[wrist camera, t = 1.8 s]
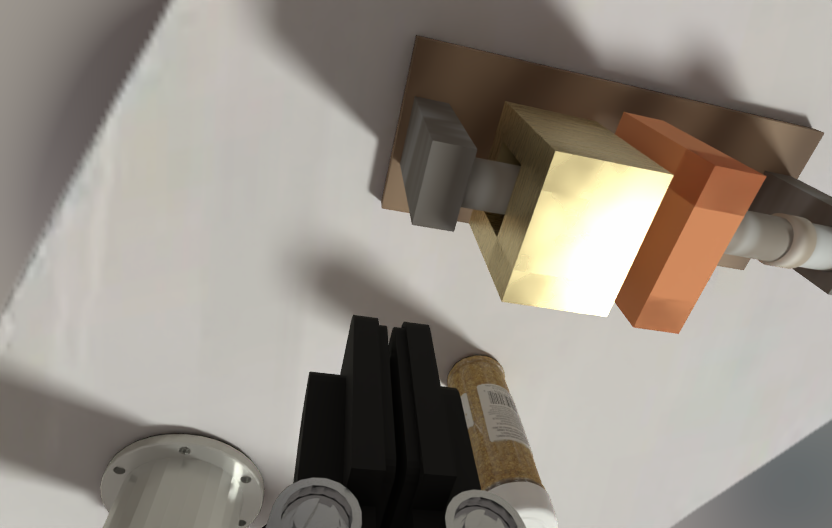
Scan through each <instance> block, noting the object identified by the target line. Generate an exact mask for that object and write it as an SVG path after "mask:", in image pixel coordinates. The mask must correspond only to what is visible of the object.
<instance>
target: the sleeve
mask: <svg viewBox="0 0 832 528" xmlns="http://www.w3.org/2000/svg"><path fill="white" fill-rule="evenodd" d="M488 160H492V161H497V162H502V163H507V164H512V165H517V166H521V167H520V170H519V173H518V176H517V179H516V182H515V185H514V188H513V191H512V194H511V197H510V200H509V203H508V206H507V209H506V212H505V215H503V214H497V213H491V212H486V211H480V210H474V209H473V211H472V214H471V217H470V221H469V224H470V226H471V229H472V231H473V234H474V236H475V238H476V241H477V243H478V246H479V248H480V250H481V253H482V255H483V258H484V260H485V262H486V265H487V267H488V270H489V272H490V274H491V277H492V279H493V282H494V284H495V286H496V289H497V291H498V294H499V296H500V299H501V301H502V302H508V303H515V304H522V305H529V306H536V307H543V308H549V309H556V310H563V311H570V312H577V313H584V314H591V315H598V316H605V317H607V315H608V313H609V311H610V309H611V307H612V305H613V303H614V300H615V298H616V296H617V294H618V292H619V290H620V288H621V286H622V284H623V281H624V279H625V277H626V275H627V273H628V271H629V269H630V267H631V265H632V262H633V260H634V258H635V256H636V254H637V252H638V250H639V248H640V245H641V243H642V241H643V239H644V237H645V235H646V233H647V231H648V229H649V226H650V224H651V222H652V220H653V218H654V216H655V214H656V212H657V210H658V207H659V205H660V203H661V201H662V199H663V197H664V195H665V193H666V191H667V188H668V186H669V184H670V182H671V180H672V178H673V176H674V175H673V174H672V173H670V172H669V171H667V170H666V169H664V168H663V167H661V166H660V165H659V164H657V163H656V162H654V161H653V160H651V159H650V158H649V157H647V156H646V155H644V154H643V153H641V152H640V151H638V150H637V149H636V148H634V147H633V146H631V145H630V144H628V143H627V142H625V141H624V140H623V139H621V138H620V137H618V136H617V135H615V134H614V133H612V132H611V131H610V130H608V129H607V128H605V127H604V126H602V125H601V124H599V123H598V122H597V121H593V120H589V119H584V118H580V117H575V116H571V115H566V114H561V113H557V112H552V111H548V110H543V109H539V108H534V107H529V106H525V105H520V104H516V103H511V102H506V101H505V104H504V107H503V110H502V114H501V117H500V120H499V124H498V127H497V130H496V134H495V137H494V140H493V144H492V147H491V150H490V154H489V157H488Z"/></svg>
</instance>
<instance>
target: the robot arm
mask: <svg viewBox="0 0 832 528" xmlns="http://www.w3.org/2000/svg"><path fill="white" fill-rule="evenodd" d="M100 491H101V498H102V501H103V503H104V506H105V507H106V509H107V510H108V512H109V515H108V517H107V519H106V522H105V524H104V526H103V528H246V527H248V526H249V525H250V524H251V523H252V522H253V521H254V520H255V518H256V517H257V515H258V513H259V512H260V509H261V506H262V502H263V495H264V484H263V479H262V477H261V474H260V472H259V470H258V469H257V467H256V466H255V465H254V464H253V462H252V461H251V460H250V459H249V458H247V457H246V456H245V455H244V454H243V453H241V452H240V451H238V450H236V449H235V448H233V447H231V446H230V445H227V444H225V443H222V442H220V441H217V440H215V439H211V438H207V437H203V436H197V435H188V434H167V435H160V436H153V437H149V438H146V439H143V440H140V441H137V442H135V443H133V444H131V445H129V446H127V447H125V448H124V449H123V450H121V451H120V452H119V453H118V454H116V455H115V457H114V458H113V459H112V460H111V462H110V463H109V465H108V467H107V469H106V471H105V473H104V475H103V477H102V481H101V485H100ZM262 528H526V526H525V524H524V522H523V520H522V519H521V517H520V515H519V514H518V512H517V511H516V510H515V509H514V508H513V507H512V506H511V505H510V504H509V503H508V502H507V501H506V500H504V499H502V498H501V497H499V496H498V495H496V494H493V493H490V492H487V491H484V490H481V486H480V481H479V477H478V472H477V468H476V463H475V459H474V455H473V450H472V446H471V441H470V437H469V432H468V428H467V423H466V419H465V414H464V410H463V406H462V401H461V397H460V393H459V391H458V390H457V388H451V387H442V386H440V380H439V375H438V369H437V364H436V359H435V353H434V348H433V342H432V337H431V331H430V327H429V325H424V324H417V323H409V322H404V323H403V325H402V327H401V328H397V327H394V328H393V330H392V333H391V337H390V341H389V345H388V332H387V326H382V325H379V321H378V318H372V317H364V316H357V315H353V317H352V320H351V325H350V330H349V335H348V340H347V344H346V349H345V354H344V359H343V364H342V369H341V373H340V375H335V374H326V373H318V372H309V377H308V383H307V389H306V395H305V401H304V407H303V413H302V420H301V427H300V434H299V442H298V450H297V458H296V466H295V474H294V482H293V484H292V485H290V486H288V487H287V488H286V489H285V490H284V491H283V492H282V493H281V494H280V495H279V496H278V498H277V500H276V501H275V503H274V505H273V507H272V510H271V513H270V516H269V519H268V522H267V524H266V525H265V526H264V527H262Z"/></svg>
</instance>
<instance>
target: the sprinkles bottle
mask: <svg viewBox="0 0 832 528" xmlns="http://www.w3.org/2000/svg"><path fill="white" fill-rule="evenodd" d="M447 383H448V387H451V388H457V390H458V391H459V393H460V397H461V401H462V406H463V410H464V414H465V419H466V423H467V428H468V432H469V437H470V441H471V446H472V450H473V455H474V459H475V463H476V468H477V472H478V477H479V481H480V486H481V490H484V491H487V492H490V493H493V494H496V495H498V496H499V497H501V498H502V499H504V500H506V501H507V502H508V503H509V504H510V505H511V506H512V507H513V508H514V509H515V510H516V511H517V512H518V514H519V515H520V517H521V519H522V520H523V522H524V524H525V526H526V528H558V521H557V517H556V514H555V511H554V508H553V505H552V502H551V499H550V497H549V494H548V493H547V491H546V490H545V488H544V486H543V485H542V483H541V480H540V477H539V474H538V472H537V469H536V466H535V462H534V459H533V454H532V451H531V448H530V445H529V442H528V440H527V437H526V434H525V431H524V428H523V426H522V423H521V420H520V417H519V415H518V412H517V409H516V406H515V403H514V401H513V398H512V396H511V394H510V393H509V389H508V387H507V384H506V382H505V374H504V370H503V368H502V366H501V365H500V364H499V363H498V362H497V361H496V360H494V359H492V358H490V357H486V356H472V357H467V358H464V359H462V360H461V361H459V362H458V363H456V364H455V365H454V367H453V368H452V369H451V371H450V373H449V375H448V379H447Z"/></svg>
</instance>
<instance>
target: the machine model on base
mask: <svg viewBox="0 0 832 528" xmlns="http://www.w3.org/2000/svg"><path fill="white" fill-rule="evenodd" d="M505 101H506V102H511V103H516V104H520V105H525V106H529V107H534V108H539V109H543V110H548V111H552V112H557V113H561V114H566V115H571V116H575V117H580V118H584V119H589V120H593V121H597V122H598V123H599V124H601V125H602V126H604V127H605V128H607V129H608V130H610V131H611V132H612V133H614V134H615V132H616V129H617V127H618V124H619V122H620V119H621V117H622V115H623V112H627V113H631V114H636V115H640V116H645V117H649V118H654V119H658V120H662V121H665V122H667V123H669V124H670V125H672V126H674V127H676V128H678V129H680V130H682V131H683V132H685V133H687V134H689V135H691V136H693V137H694V138H696V139H698V140H700V141H702V142H704V143H706V144H707V145H709V146H711V147H713V148H715V149H717V150H719V151H720V152H722V153H724V154H726V155H728V156H730V157H732V158H733V159H735V160H737V161H739V162H741V163H743V164H745V165H746V166H748V167H750V168H752V169H754V170H756V171H758V172H759V173H761V174H763V175H765V176H767V177H766V178H765V180H764V182H763V184H762V186H761V187H760V189H759V191H758V193H757V195H756V196H755V198H754V200H753V202H752V203H751V205H750V207H749V209H748V211H747V212H746V214H745V216H744V218H743V220H742V221H741V223H740V225H739V227H738V228H737V230H736V232H735V234H734V236H733V237H732V239H731V241H730V243H729V245H728V246H727V248H726V250H725V252H724V254H723V255H722V257H721V259H720V261H719V262H718V264H717V266H722V267H728V268H734V269H740V270H744V269H745V267H746V265H747V264H748V262H749V260H750V259H751V258H752V259H758V260H759V261H760V262H761V263H763V264H765V265H770V266H776V267H781V268H788V269H791V268H792V269H794V270H795V271H796V272H798V273H799V274H801V275H802V276H803V277H805V278H806V279H808V280H809V281H810V282H812V283H813V284H815V285H816V286H817V287H819V288H820V289H821V290H823V291H824V292H826V293H827V294H830V295H832V197H831V196H829V195H827V194H825V193H823V192H821V191H819V190H817V189H815V188H813V187H811V186H809V185H807V184H805V183H803V182H801V181H799V180H797V179H798V177H799V175H800V174H801V172H802V170H803V169H804V167H805V165H806V163H807V162H808V160H809V158H810V157H811V155H812V153H813V152H814V150H815V148H816V146H817V145H818V143H819V141H820V140H821V138H822V136H823V135H824V132H821V131H818V130H816V129H813V128H809V127H805V126H801V125H796V124H792V123H788V122H784V121H779V120H775V119H771V118H767V117H762V116H758V115H754V114H750V113H745V112H741V111H737V110H733V109H728V108H724V107H720V106H716V105H711V104H707V103H703V102H698V101H694V100H690V99H686V98H681V97H677V96H673V95H669V94H664V93H660V92H656V91H652V90H647V89H643V88H639V87H635V86H630V85H626V84H622V83H618V82H613V81H609V80H605V79H601V78H596V77H592V76H588V75H584V74H579V73H575V72H571V71H567V70H562V69H558V68H554V67H550V66H545V65H541V64H537V63H533V62H528V61H524V60H520V59H516V58H511V57H507V56H503V55H499V54H494V53H490V52H486V51H482V50H477V49H473V48H469V47H464V46H460V45H456V44H452V43H447V42H443V41H439V40H435V39H430V38H426V37H422V36H418V35H416V39H415V44H414V48H413V53H412V58H411V63H410V67H409V72H408V77H407V82H406V86H405V91H404V96H403V101H402V106H401V110H400V115H399V120H398V125H397V129H396V134H395V139H394V144H393V148H392V153H391V158H390V163H389V167H388V172H387V177H386V182H385V186H384V191H383V196H382V201H381V205H382V208H383V209H389V210H395V211H401V212H406V213H410V217H411V222H412V225H417V226H423V227H429V228H435V229H441V230H447V231H453V232H454V230H455V226H456V223H457V221H459V222H465V223H469V221H470V217H471V214H472V211H473V209H474V210H480V211H486V212H491V213H497V214H503V215H505V212H506V209H507V206H508V203H509V200H510V197H511V194H512V191H513V188H514V185H515V182H516V179H517V176H518V173H519V170H520V167H521V166H517V165H512V164H507V163H502V162H497V161H492V160H488V157H489V154H490V150H491V147H492V144H493V140H494V137H495V134H496V130H497V127H498V124H499V120H500V117H501V114H502V110H503V107H504V104H505Z"/></svg>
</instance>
